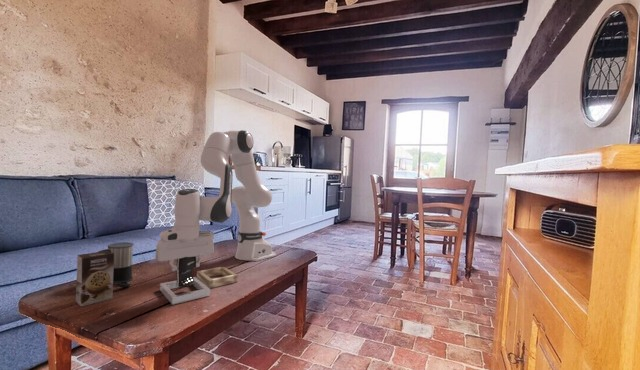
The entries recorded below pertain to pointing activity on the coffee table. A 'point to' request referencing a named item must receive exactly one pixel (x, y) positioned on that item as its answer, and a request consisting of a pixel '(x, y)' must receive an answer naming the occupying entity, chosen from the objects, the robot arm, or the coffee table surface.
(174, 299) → the frame
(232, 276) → the tan wooden frame
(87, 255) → the cookie box
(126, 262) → the milk frother
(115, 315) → the coffee table surface
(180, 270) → the battery charger
